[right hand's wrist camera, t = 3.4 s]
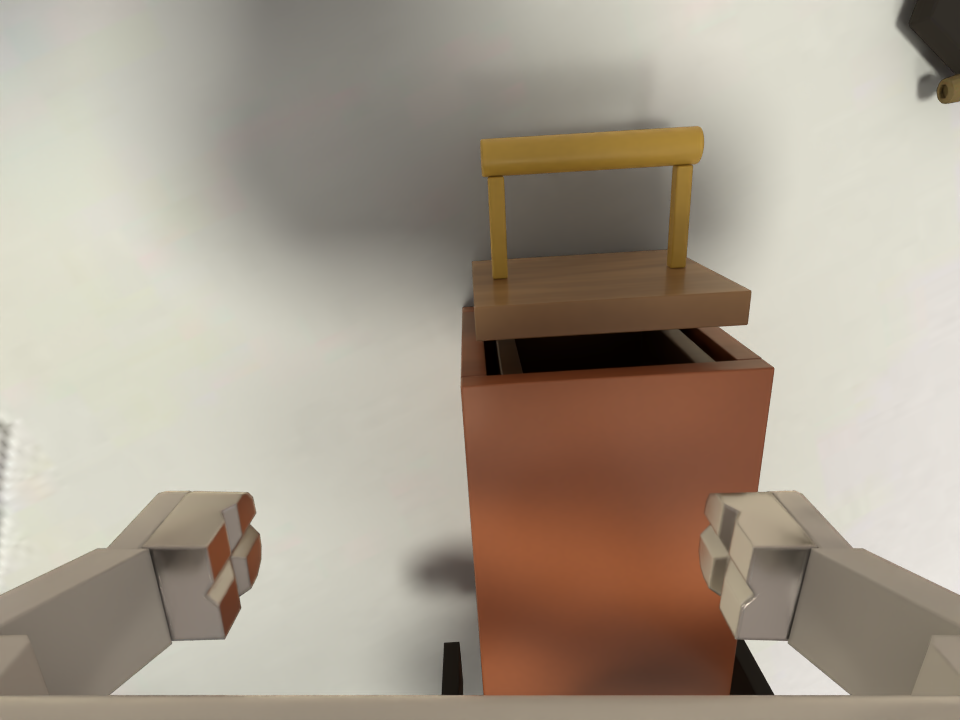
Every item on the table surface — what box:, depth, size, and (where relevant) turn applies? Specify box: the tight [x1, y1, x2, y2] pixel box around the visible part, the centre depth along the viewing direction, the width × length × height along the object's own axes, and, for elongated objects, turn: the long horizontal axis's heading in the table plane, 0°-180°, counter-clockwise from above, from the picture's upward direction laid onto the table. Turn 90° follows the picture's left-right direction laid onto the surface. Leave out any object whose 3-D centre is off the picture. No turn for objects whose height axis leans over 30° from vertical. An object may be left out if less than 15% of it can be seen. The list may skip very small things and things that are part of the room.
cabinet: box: [461, 307, 774, 695], centre depth 27 cm, size 22×10×10 cm, turn 3°
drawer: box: [472, 126, 751, 375], centre depth 25 cm, size 26×9×8 cm, turn 3°
